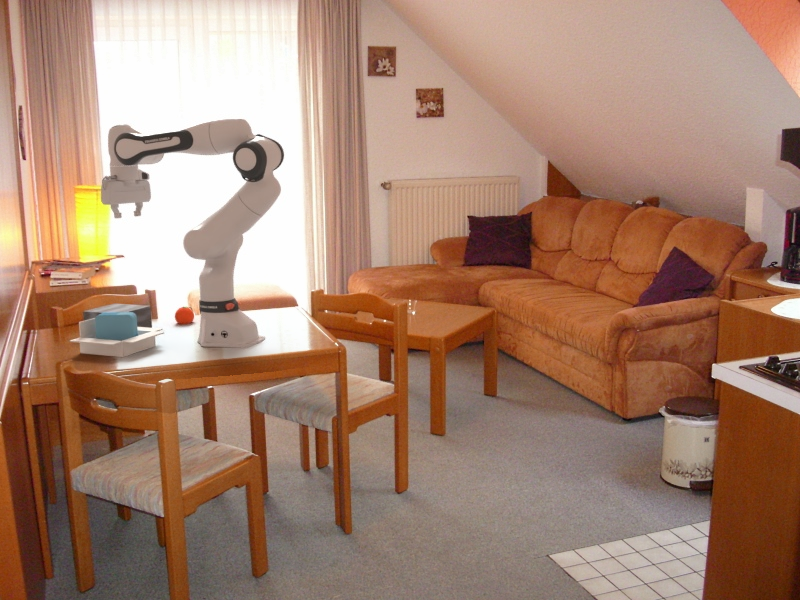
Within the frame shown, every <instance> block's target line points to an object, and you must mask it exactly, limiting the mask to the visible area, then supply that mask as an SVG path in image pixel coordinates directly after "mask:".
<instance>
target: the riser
mask: <svg viewBox="0 0 800 600" xmlns="http://www.w3.org/2000/svg"><path fill="white" fill-rule="evenodd" d="M151 309H152V307H151V305H147V304H146V305H142V304H129V303H128V304H126V303H112V304H107V305H102V306H98V307H95V308H91V309H87V310H83V311H82V318H83V320H82V321H85V320H89V319H93V318H95V317H96V316H98V315H99V314H101V313H112V312H133V313H135V314H136V316H137V327H147V328H153V323H152V321H153V320H152V310H151Z"/></svg>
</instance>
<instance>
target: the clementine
mask: <svg viewBox="0 0 800 600" xmlns="http://www.w3.org/2000/svg"><path fill="white" fill-rule="evenodd" d="M174 318H175V322H176V323H177V324H178V325H188V324H187V323H189V324H192V323H193V322H194V319H195V313H194V310H193V308H192V307H190V306H182V307H178V308H177V310H176V311H175V313H174ZM191 322H192V323H191Z"/></svg>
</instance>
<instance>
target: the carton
mask: <svg viewBox="0 0 800 600" xmlns="http://www.w3.org/2000/svg"><path fill="white" fill-rule="evenodd" d="M137 329H138V336H136V337H132V338H129V339H126V340H123V341H117V340H105V339H96V328H95V318H93V319H89V320H85V321H84V320H82V321H79V322H78V331H79V337H77V338H74V339H70V340H69V342H70V343H79V351H80V354H85V355H95V356H96V355H97V356H108V357H118V358H125V357H129V356H130V355H134V354H136V353H139V352H143V351H145V350H148V349H151V348H153V347H156V345H157V344H156V337H157V336H159V335H164V334H165V331H163V330H164V329H163V328H157V327H152V328H147V327H137Z"/></svg>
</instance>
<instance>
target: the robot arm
mask: <svg viewBox="0 0 800 600" xmlns="http://www.w3.org/2000/svg"><path fill="white" fill-rule="evenodd" d="M250 125H251V124H250V123H249V122H248V121H247V120H246V119H244V118H242V117H232V116H231V117H230V116H229V117H219V118H218V117H217V118H212V119H208V120H205V121H200V122H196V123H194V124H192V125H188V126H186V127H183V128H182V127H181V128H179V129H175V130H172V131H167V132H161V133H154V134H150V133H146V132H144V131H142V130H140V129H137V128H136V127H135V126H134V125H133V124H129V123H128V124H127V123H126V124H124V123H123V124H117V125H114V126H112V127H111V128H109V130H108V135H107V150H108V151H107V152H108V154H109V157H110V163H109V174H110V175H104V177H102V179H101V186H100V201H101V203H102V204H103V205H104V206H107V205H108V206H110V208H111V209H110V210H111V211H112V212H113V216H114V217H113V218H114V219H121V218H122V212H120V210H119V207H120V206H119V205H121V204H123V205H124V204H134V205H135V210H134V211H133V217H141V216H142V209H143V208H144V207H143V206H144V203H149V202H150V200H151V197H152V194H151V193H152V192H151V184H150V181H149V180H150V173H148V172H146V171H143V170H141V169H139V165H154V164H158V163H159V162H161V161H162V159H164V155H165V154H171V153H178V154H180V153H181V154H190V155H198V156H217V155H218V156H219V155H224V154H228V153H229V154H230V153H233V154H232V161H233V165H234V167H235V169H236V170H237V171H238V173H239V174H240V175H241V178H242V179H243V180H244V181H246V182H245V183H244V184H243V185H242V186H241V187H240V188H239V189H238V191H237V192H235V194H234V195H233V196H232V197H230V199H229V200H228V201H227V202H226V203H224V204H223V206H221V207H220V208H219V209H218V210H216V211H215V212H214V213H212V214H211V215H210V216H209V217H207V218H206V219H204V220H203V221H202V222H201V223H200V224H198V225H197V226H196V227H194V228H192V229H191V230H189V231H187V233H186V234H185V235H184V238H183V248H184V251H185V253H186V254H187V255H188V256H189V257H190V258H192V259H195V260H201V261H202V260H203V261H204V265H203V269H202V271H201V272H200V274H199V277H198V281H199V282H198V283H199V285H198V286H199V300H198V309H199V313H200V324H199V325H200V328H199V333H198V339H197V343H198V344H200V346H201V347H204V348H205V347H210V348H213V347H214V348H240V347H243V348H248V347H252V346H255V345H257V344H260V343H261V342H263V341H264V340H265V339H266V336H264V335H259V330H258V326H257V323H256V321H255V320H253V319H252V318H250V317H249V316H248V315H247V314H246V313H244V312H243V311H242V310H240V305H242V302H243V301H242V300H239V301H237V300H236V299H237V298H236V297H235V287H234V283H235V282H234V281H235V280H234V278H235V277H234V276H235V275H234V274H235V268H236V263H237V256H238V253H239V250H240V249H241V248H242V246H243V242H244V235H243V234H245V233H247V232H248V231H250V230H251V229H252V228H253V227H254V226H255V225H256V223H257V222H259V220H260V219H262V217H264V216H265V215H266V213H267V212H268V211H270V209H271V207H273V206H274V204H275V203H276V202H277V199H278V198H279V196H280V194H281V192H282V187H281V184H280V182H279V181H278V179H277V177H275V175H274V171H275V170H278V168H280V166H281V165H282V163H284V159H285V152H284V149H283V147H282V145H281V144H280V143H279V142H278V141H276V140H275V139H272V138H270V137H268V136H264V135H262V134H260V133H258V134H254V133H253V131H252V128H251V126H250Z"/></svg>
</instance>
